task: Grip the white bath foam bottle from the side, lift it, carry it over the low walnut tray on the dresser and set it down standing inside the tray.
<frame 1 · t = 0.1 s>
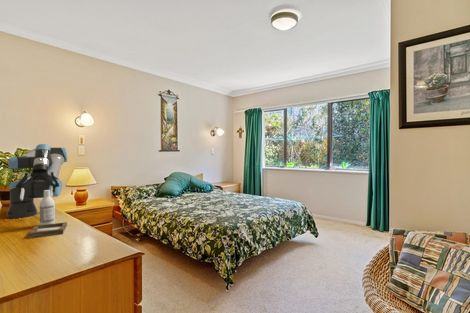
hand: (36, 198, 142), 15 cm above the dresser, tool tilted 35°, fingers open, 13 cm apart
bath foam: (47, 225, 142), on the dresser
tray: (49, 231, 131), on the dresser
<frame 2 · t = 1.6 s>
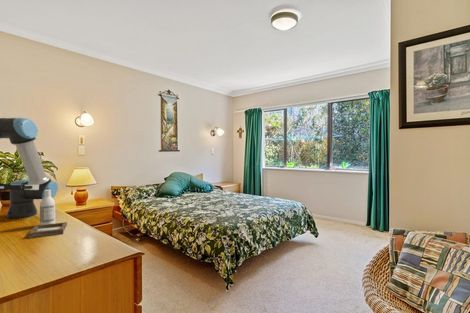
hand: (31, 187, 136), 23 cm above the dresser, tool horizontal, fingers open, 13 cm apart
nothing on the dresser moved.
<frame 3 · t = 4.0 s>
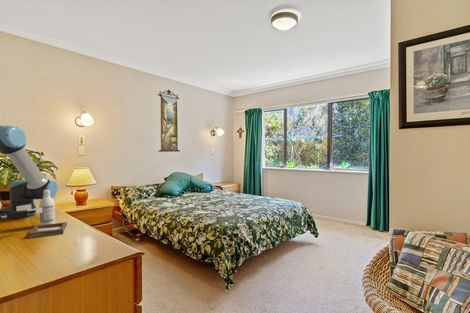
hand: (36, 208, 137), 11 cm above the dresser, tool horizontal, fingers open, 13 cm apart
nothing on the dresser moved.
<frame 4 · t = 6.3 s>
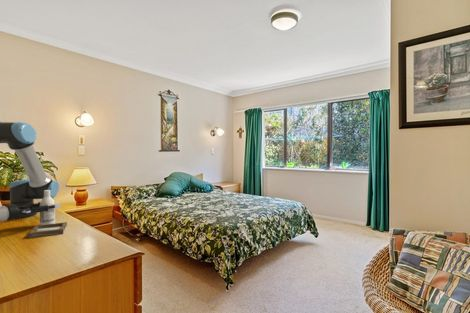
hand: (57, 204, 146), 11 cm above the dresser, tool horizontal, fingers closed on bath foam, 7 cm apart
bath foam: (47, 225, 142), on the dresser, touching gripper
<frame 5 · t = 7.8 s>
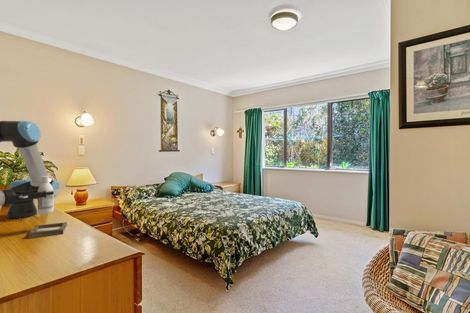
hand: (56, 191, 140), 20 cm above the dresser, tool horizontal, fingers closed on bath foam, 7 cm apart
bath foam: (46, 213, 136), point 9 cm above the dresser, touching gripper
when the fingers open (13 cm above the dresser, at t = 9.7 s): bath foam drops 1 cm, resting on tray.
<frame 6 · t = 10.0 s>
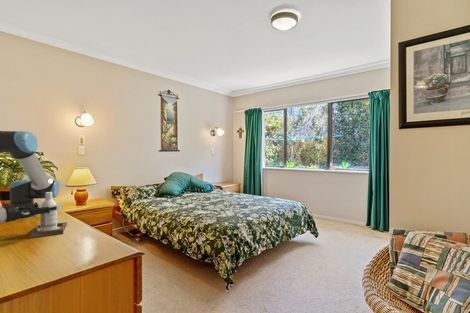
hand: (57, 205, 134), 13 cm above the dresser, tool horizontal, fingers open, 10 cm apart
bath foam: (49, 230, 131), point 1 cm above the dresser, touching tray
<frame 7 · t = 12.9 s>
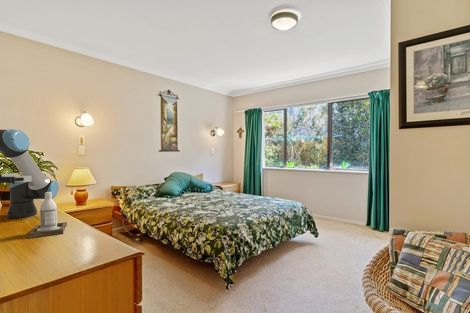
hand: (24, 177, 122), 30 cm above the dresser, tool horizontal, fingers open, 13 cm apart
nothing on the dresser moved.
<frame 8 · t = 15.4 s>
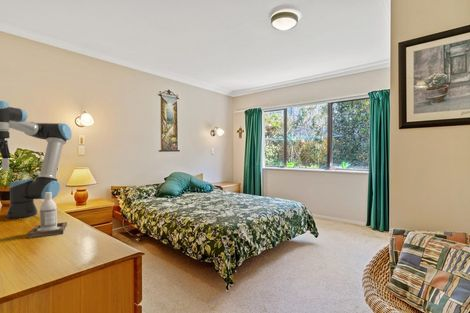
hand: (0, 171, 130), 32 cm above the dresser, tool pointing down, fingers open, 13 cm apart
nothing on the dresser moved.
at the end: bath foam inside the target area on the tray (0.1 cm from its centre), point 0.6 cm above the tray's base; bath foam tilted 0°; the gripper is holding nothing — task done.
